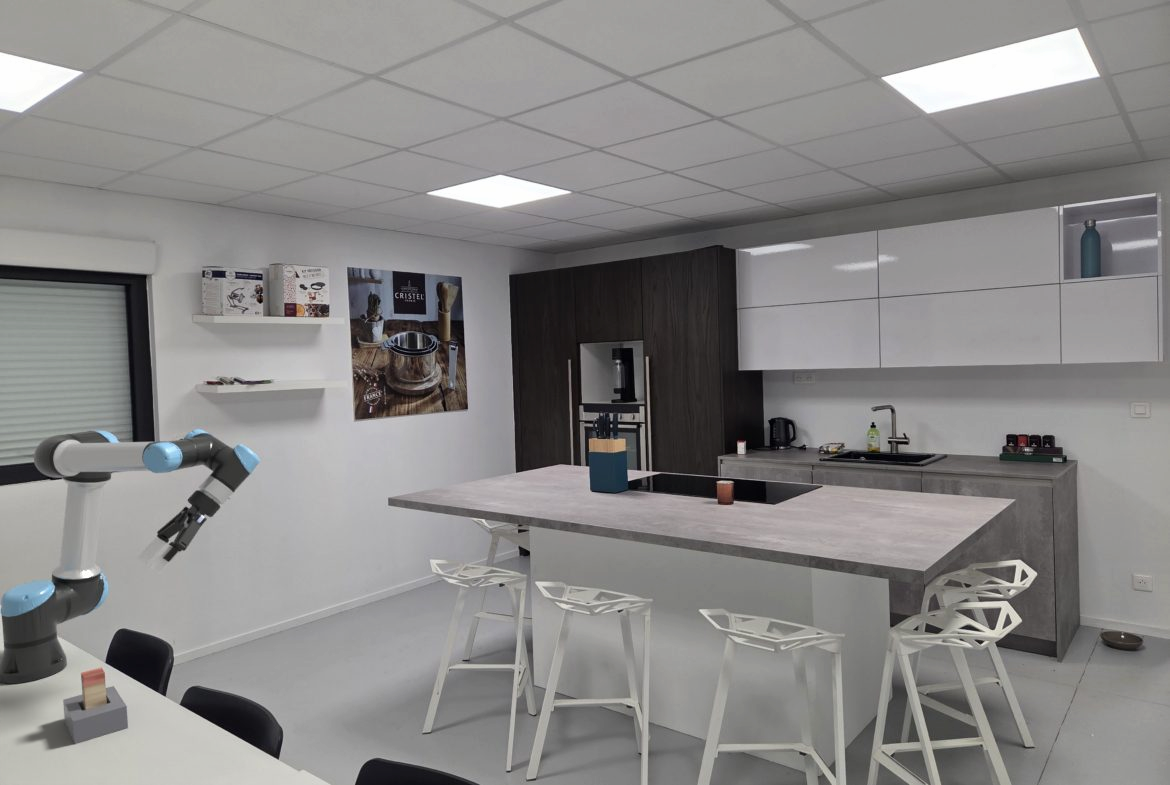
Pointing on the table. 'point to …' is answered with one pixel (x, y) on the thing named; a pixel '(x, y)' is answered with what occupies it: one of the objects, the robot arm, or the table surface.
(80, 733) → the socket block
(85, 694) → the plug peg
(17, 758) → the table surface
